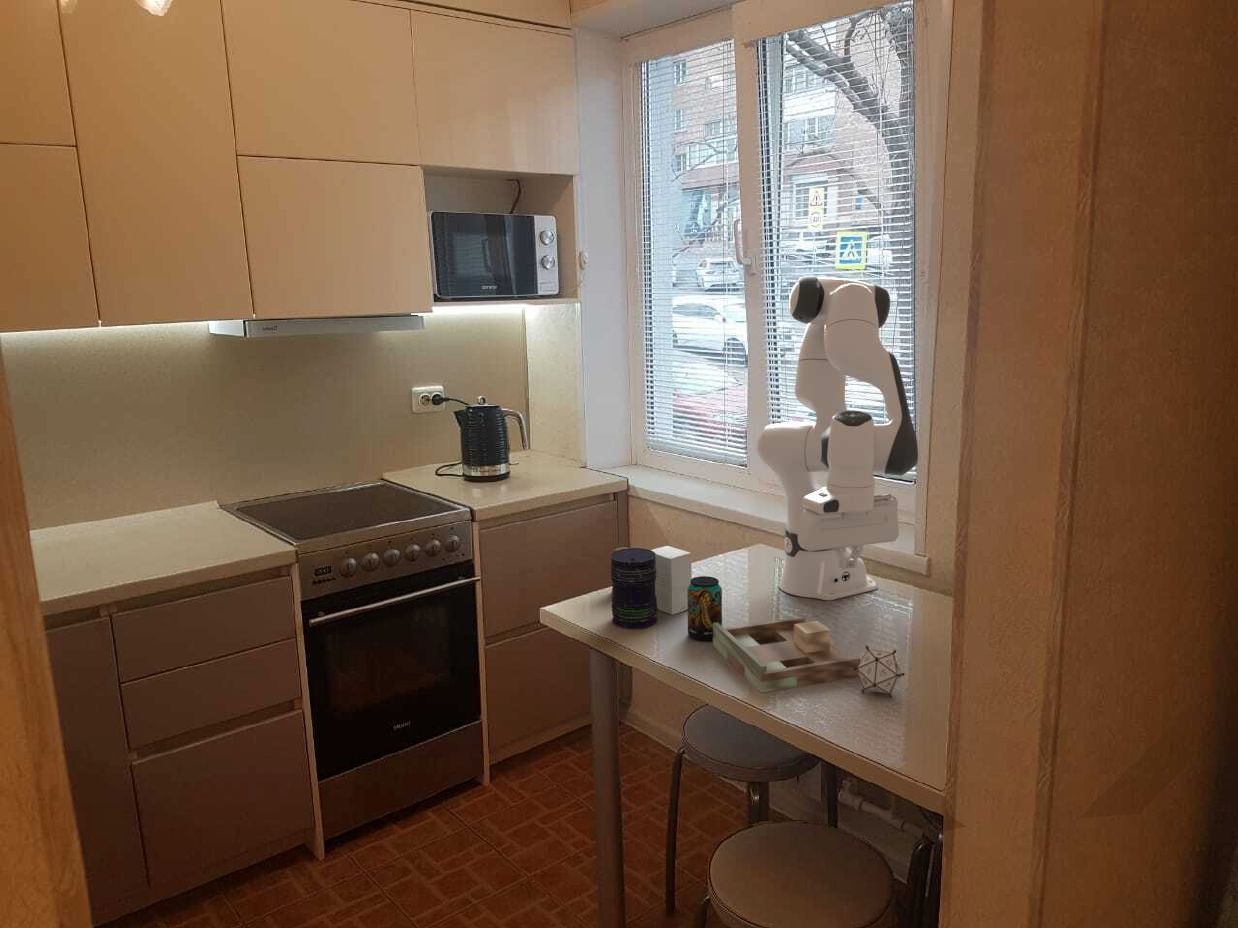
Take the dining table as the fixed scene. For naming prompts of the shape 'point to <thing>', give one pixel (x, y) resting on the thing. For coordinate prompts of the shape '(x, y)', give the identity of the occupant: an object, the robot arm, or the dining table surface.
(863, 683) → the game die
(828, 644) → the beech block
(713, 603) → the beverage can
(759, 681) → the box
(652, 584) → the storage jar
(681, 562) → the small box
